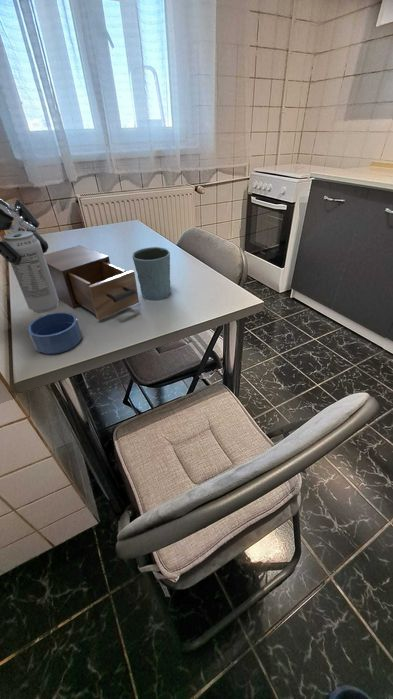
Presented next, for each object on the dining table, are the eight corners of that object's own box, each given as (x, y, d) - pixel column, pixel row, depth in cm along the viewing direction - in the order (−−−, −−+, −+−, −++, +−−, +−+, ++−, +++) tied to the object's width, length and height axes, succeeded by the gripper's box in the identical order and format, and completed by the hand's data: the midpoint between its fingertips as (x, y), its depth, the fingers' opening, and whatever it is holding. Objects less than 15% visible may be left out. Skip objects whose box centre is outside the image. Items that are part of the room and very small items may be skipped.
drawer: (148, 307, 78) (144, 275, 73) (108, 326, 71) (100, 292, 66) (109, 287, 89) (102, 258, 83) (70, 302, 82) (60, 271, 76)
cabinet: (116, 291, 88) (108, 256, 82) (73, 308, 81) (62, 271, 74) (88, 277, 97) (80, 245, 91) (48, 292, 89) (35, 257, 83)
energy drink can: (64, 300, 65) (41, 229, 56) (54, 314, 60) (28, 238, 51) (36, 301, 65) (9, 230, 56) (25, 315, 60) (-7, 240, 51)
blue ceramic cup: (177, 287, 89) (175, 248, 82) (165, 303, 82) (161, 261, 75) (147, 284, 92) (142, 245, 85) (132, 299, 84) (125, 258, 77)
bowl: (48, 361, 62) (39, 342, 59) (28, 343, 68) (19, 324, 65) (90, 340, 68) (85, 322, 65) (69, 325, 74) (63, 307, 71)
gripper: (-86, 168, 44) (6, 255, 48) (-4, 160, 55) (66, 232, 58) (-88, 205, 49) (-4, 282, 52) (-12, 191, 59) (53, 255, 63)
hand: (32, 255), depth 55 cm, fingers closed on energy drink can, 6 cm apart
